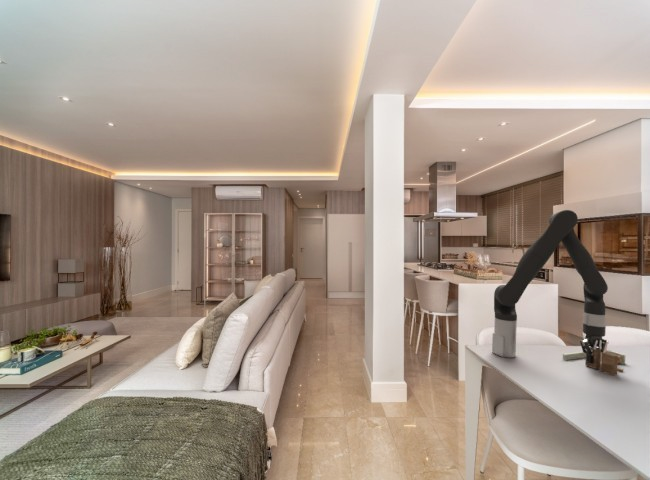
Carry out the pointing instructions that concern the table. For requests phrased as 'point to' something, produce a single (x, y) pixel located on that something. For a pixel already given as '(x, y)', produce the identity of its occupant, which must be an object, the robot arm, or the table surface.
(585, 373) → the table surface
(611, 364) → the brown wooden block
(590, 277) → the robot arm
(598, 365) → the wooden mallet
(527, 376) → the table surface
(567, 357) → the frame
